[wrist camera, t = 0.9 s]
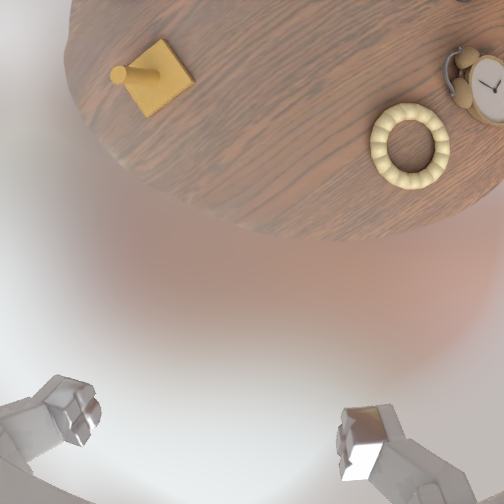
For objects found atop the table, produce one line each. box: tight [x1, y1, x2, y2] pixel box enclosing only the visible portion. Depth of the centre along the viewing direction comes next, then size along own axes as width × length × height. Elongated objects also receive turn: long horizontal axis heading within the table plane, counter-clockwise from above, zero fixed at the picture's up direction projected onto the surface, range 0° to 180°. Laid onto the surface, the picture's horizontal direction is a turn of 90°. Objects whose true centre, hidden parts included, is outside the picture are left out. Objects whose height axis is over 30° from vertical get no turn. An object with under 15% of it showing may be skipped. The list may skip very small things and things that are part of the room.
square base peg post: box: [110, 39, 195, 117], centre depth 36 cm, size 9×9×12 cm
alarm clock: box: [443, 46, 504, 127], centre depth 31 cm, size 11×5×15 cm
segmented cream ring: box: [370, 103, 450, 189], centre depth 39 cm, size 13×13×2 cm
